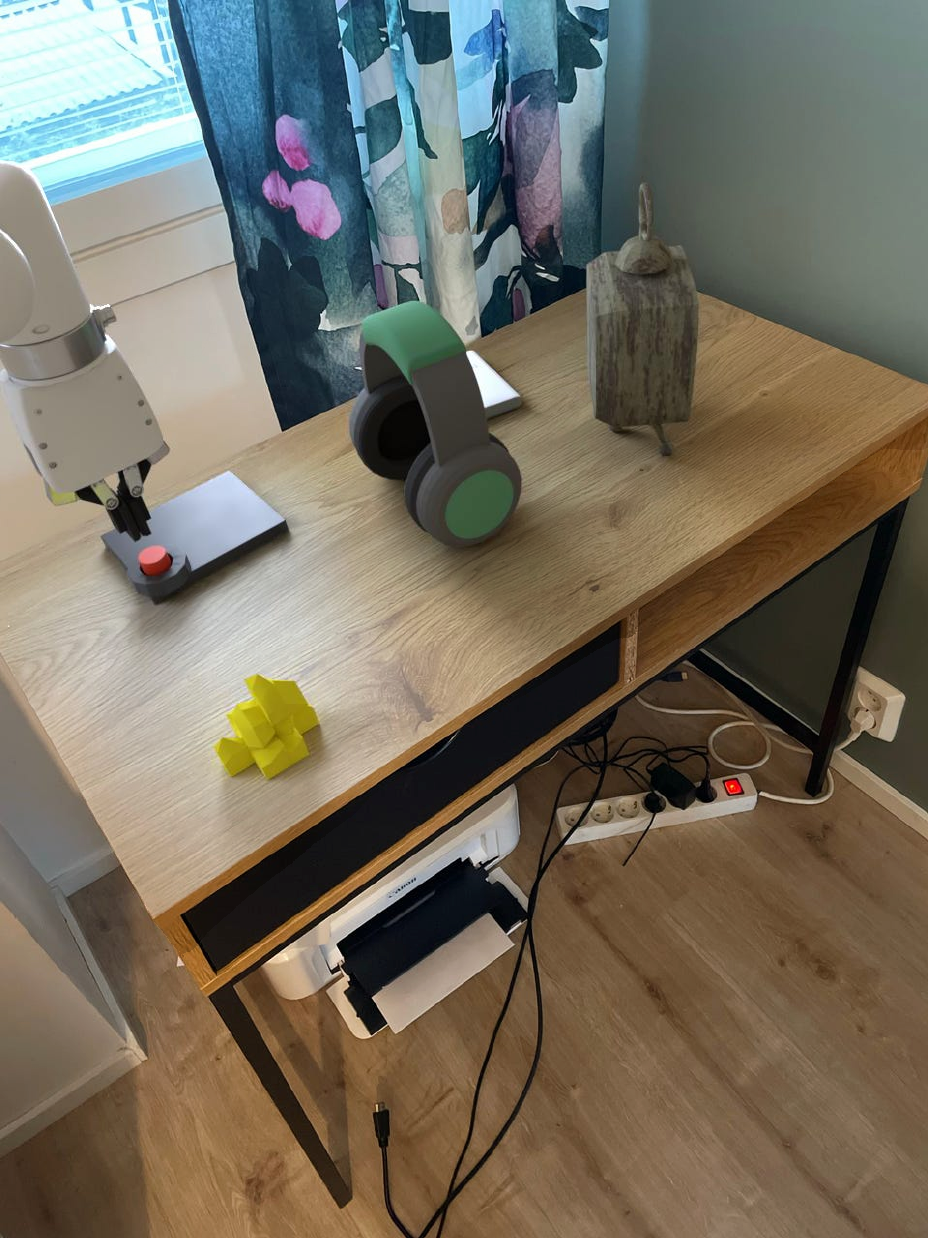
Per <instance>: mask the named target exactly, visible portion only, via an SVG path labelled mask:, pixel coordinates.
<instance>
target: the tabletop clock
mask: <svg viewBox="0 0 928 1238" xmlns="http://www.w3.org/2000/svg"><path fill="white" fill-rule="evenodd" d="M653 203H654V202H653V194H652V191H651V188H650V185H649V184H648V182H647V181H643V182H642V183H641V184H639V189H638V235H636V236H633V237H631V238H628V239H627V240H626V242H624V243H623V245H622V246H621V248H620V250H614V251H613V250H612V251H607V252H606V251H604V252H603V253H601V254H600V255H599V256H597V257H595V258H594V259H593V260H591V261H590V262H588V263H587V264H586V275H585V276H586V283H585V286H586V287H585V288H586V290H585V291H586V293H585V294H586V297H585V299H586V306H585V307H586V310H585V311H586V314H585V315H586V362H587V374H588V381H589V390H590V398H591V405H592V411H593V416H594V419H595V420H598V421H599V422H602V423H604V424H606V425H607V428H609V430H610V431H612V432H619V431H620V430H622V428H626V427H640V426H650V427H652V428H653V430H654V432H655V433H656V436H657V437H658V439H659V441H660V442H661V443H660V444H659V446H658V452H659V454H660V455H661V456H663V457H671V456H672V455H674V453H675V450H676V445H675V444H674V443H673V442H672V441H670V440H667V438H666V435H665V432H664V428H663V425H665V424H678V423H689V420H690V416H691V409H692V405H693V404H692V403H693V395H694V388H695V387H694V386H695V377H696V365H697V354H698V353H697V350H698V339H699V338H698V335H699V299H698V291H697V286H696V282H695V279H694V278H695V277H694V275H693V272H692V268H691V265H690V261H689V259H688V257H687V254H686V252H685V249H684V247H683V246H682V245H678V244H677V245H668V244H667V243H665V242H664V241H663V240H662V239H661V238H660V237H659V236H656V235H653V229H654V204H653Z"/></svg>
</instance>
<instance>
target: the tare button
mask: <svg viewBox="0 0 928 1238" xmlns="http://www.w3.org/2000/svg"><path fill="white" fill-rule="evenodd" d="M138 560H139V562H140V564H141V566H142V568H143V571H144V572H145V574H147V575H149V576H154V575H159V574H161V573H163V572H165V571H167V570H168V569H169V568H170V566H171V560H170V558H169V556H168V554H167V552H166V549H165V548H164V547H162V546H151V547H148V548H146V549H145V550H143V551H142V552H141V553H140V554H139V557H138Z"/></svg>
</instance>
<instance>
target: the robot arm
mask: <svg viewBox="0 0 928 1238" xmlns="http://www.w3.org/2000/svg"><path fill="white" fill-rule="evenodd" d="M64 240H65V239H64V238H63V236H62V233H61V230H60V228H59V225H58V223H57V220H56V219H55V216H54V213H53V211H52V209H51V206H50V203H49V201H48V199H47V196H46V194H45V192H44V189H43V187H42V185H41V183H40V181H39V179H38V178H37V177H36V175H35V174H34V173H33V172H32V171H31V170H30V169H29V168H28V167H26V166H25V165H23V164H21V163H18V162H15V161H10V160H0V361H1V364H2V365H3V367H4V368H3V369H2V370H0V391H1V395H2V398H3V400H4V403H5V407H6V410H7V412H8V414H9V417H10V420H11V422H12V425H13V426H14V429H15V431H16V434H17V435H18V438H19V440H20V442H21V444H22V447H23V448H24V450H25V453H26V455H27V457H28V459H29V461H30V463H31V465H32V466H33V468H34V470H35V471H36V473H37V474H38V475H39V476H40V477H42V479H43V484H44V489H45V493H46V497H47V499H48V500H49V501H50V503H52V505H53V506H56V507H60V506H64V505H68V504H72V503H73V504H74V503H77V502H78V501H84V502H87V503H91V504H96V505H99V506H102V507H104V508H105V511H106V513H107V514H108V517H109V518H110V521H111V523H112V525H113V526H114V529H115V528H116V530H117V531H118V532H119V533H120V534H121V533H123V532H125V531H126V533H127V534H128V535H129V536H130V537H131V538H132V539H133V540H134V542H136V541H138V540H140V538H141V537H142V536H148V535H150V534H151V531H150V529H149V527H148V524H147V522H146V521H148V520H150V519H151V516H150V514H149V511H150V510H149V509H148V507H147V505H146V502H145V500H144V498H143V494H144V491H145V488H144V484H145V482H146V480H147V477H148V475H149V473H150V471H151V468H152V466H154V465H156V464H157V463H159V462H160V461H161V460H163V459H164V458H165V457H167V456H168V455H169V454H170V451H171V448H170V446H169V445H168V444H167V443H166V441H165V440H164V435H163V432H162V428H161V426H160V423H159V421H158V419H157V417H156V415H155V412H154V410H153V408H152V405H151V404H150V401H149V400H148V398H147V396H146V394H145V392H144V390H143V388H142V386H141V384H140V382H139V381H138V379H137V377H136V375H135V373H134V372H133V370H132V368H131V366H130V365H129V363H128V361H127V359H126V358H125V356H124V355H123V353H122V352H121V350H120V348H119V347H118V346H117V344H116V342H115V341H114V340H113V339H112V338H111V337H110V336H109V335H107V334H106V333H107V331H106V328H109V327H110V325H112V324H113V323H116V322H117V316H116V314H115V312H114V310H113V308H112V307H111V305H109V304H107V305H104V306H101V307H100V306H96V307H94V306H93V305H92V304H91V303H90V301H89V299H88V296H87V293H86V291H85V289H84V287H83V284H82V282H81V279H80V277H79V275H78V274H79V273H78V271H77V269H76V267H75V264H74V262H73V260H72V259H73V258H72V256H71V254H70V251H69V249H68V247H67V245H66V243H65V242H66V241H64ZM115 474H116V478H117V481H118V483H117V486H116V491H115V490H114V489H113V488H112V487H110V486H109V484H108V483H107V482H106V481H105V479H106V478H108V477H110V476H113V475H115ZM140 533H141V534H142V536H141V534H140Z"/></svg>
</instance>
